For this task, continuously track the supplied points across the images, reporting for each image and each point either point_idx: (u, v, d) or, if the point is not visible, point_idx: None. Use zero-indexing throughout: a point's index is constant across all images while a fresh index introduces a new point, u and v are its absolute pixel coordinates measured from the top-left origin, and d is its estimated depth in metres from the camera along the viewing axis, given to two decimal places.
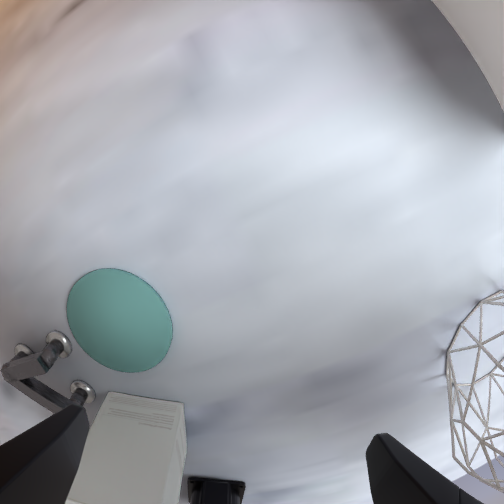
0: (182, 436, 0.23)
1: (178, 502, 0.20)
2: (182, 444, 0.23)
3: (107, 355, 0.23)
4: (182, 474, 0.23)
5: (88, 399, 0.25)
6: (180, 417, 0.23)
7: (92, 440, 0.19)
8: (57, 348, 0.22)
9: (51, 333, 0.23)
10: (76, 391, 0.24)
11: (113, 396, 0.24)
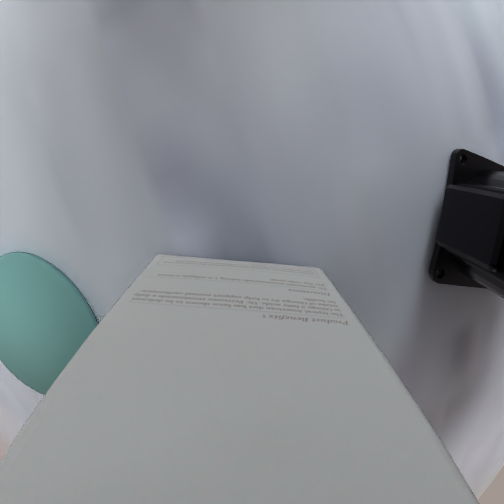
0: (203, 273, 0.11)
1: (379, 359, 0.07)
2: (223, 279, 0.11)
3: None
4: (335, 302, 0.10)
5: None
6: (149, 267, 0.11)
7: None
8: None
9: None
10: None
11: None
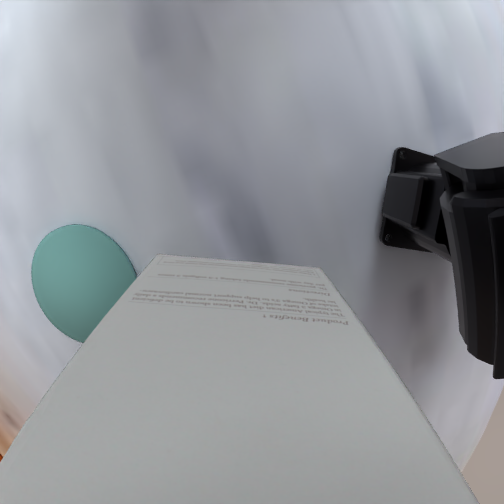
0: (204, 273, 0.11)
1: (379, 360, 0.07)
2: (223, 279, 0.11)
3: None
4: (335, 302, 0.10)
5: None
6: (149, 267, 0.11)
7: None
8: None
9: None
10: None
11: None
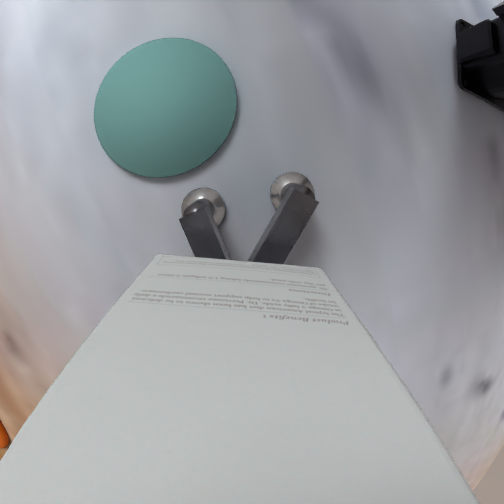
0: (204, 273, 0.11)
1: (379, 360, 0.07)
2: (223, 279, 0.11)
3: (208, 123, 0.17)
4: (336, 302, 0.10)
5: (304, 186, 0.18)
6: (149, 267, 0.11)
7: None
8: (195, 201, 0.18)
9: (183, 215, 0.19)
10: (282, 196, 0.18)
11: None
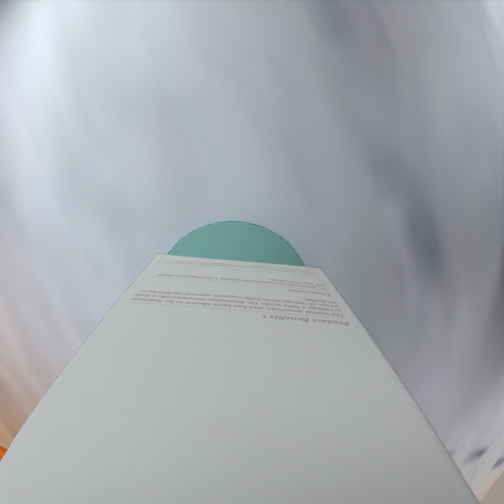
0: (204, 273, 0.11)
1: (379, 360, 0.07)
2: (223, 279, 0.11)
3: None
4: (336, 303, 0.10)
5: None
6: (149, 267, 0.11)
7: None
8: None
9: None
10: None
11: None
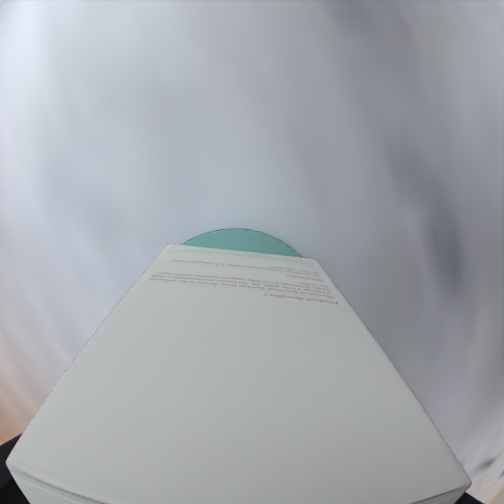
0: (211, 260, 0.12)
1: (363, 331, 0.08)
2: (229, 265, 0.12)
3: None
4: (328, 287, 0.11)
5: None
6: (161, 254, 0.13)
7: None
8: None
9: None
10: None
11: None
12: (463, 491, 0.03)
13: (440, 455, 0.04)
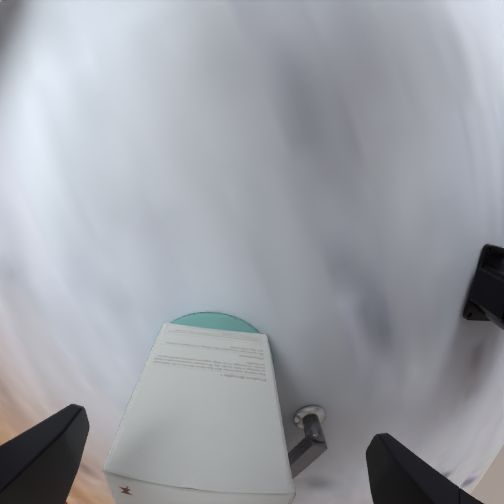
0: (192, 342, 0.18)
1: (273, 403, 0.14)
2: (203, 347, 0.18)
3: None
4: (264, 365, 0.17)
5: (319, 414, 0.23)
6: (159, 335, 0.19)
7: None
8: None
9: None
10: (303, 425, 0.23)
11: None
12: (290, 496, 0.09)
13: (282, 477, 0.10)
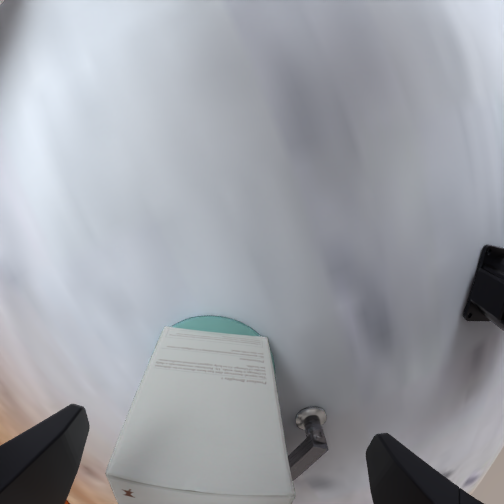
0: (193, 345, 0.18)
1: (273, 406, 0.14)
2: (204, 350, 0.18)
3: None
4: (265, 368, 0.17)
5: (320, 415, 0.23)
6: (161, 339, 0.19)
7: None
8: None
9: None
10: (304, 426, 0.23)
11: None
12: (289, 497, 0.09)
13: (282, 479, 0.10)
